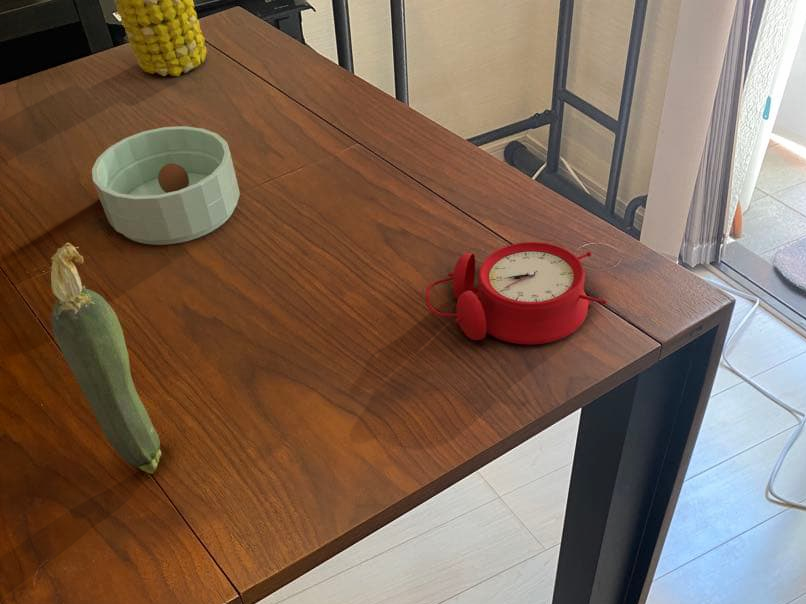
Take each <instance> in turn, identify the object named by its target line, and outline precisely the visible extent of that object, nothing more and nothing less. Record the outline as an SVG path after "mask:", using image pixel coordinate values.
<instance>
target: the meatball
mask: <svg viewBox="0 0 806 604" xmlns="http://www.w3.org/2000/svg"><path fill="white" fill-rule="evenodd" d="M158 181H159V185H160V187H161V188H162V190H163V191H164V192H166V193H169V192H174V191H178V190H181V189H183V188H186V187H188V185H189V177H188V174H187V172H186V171H185V170H184V168H182V167H181V166H180V165H177V164H173V163H171V164H167V165H165V166H163V167H162V168H161V170H160V171H159V175H158Z"/></svg>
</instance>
